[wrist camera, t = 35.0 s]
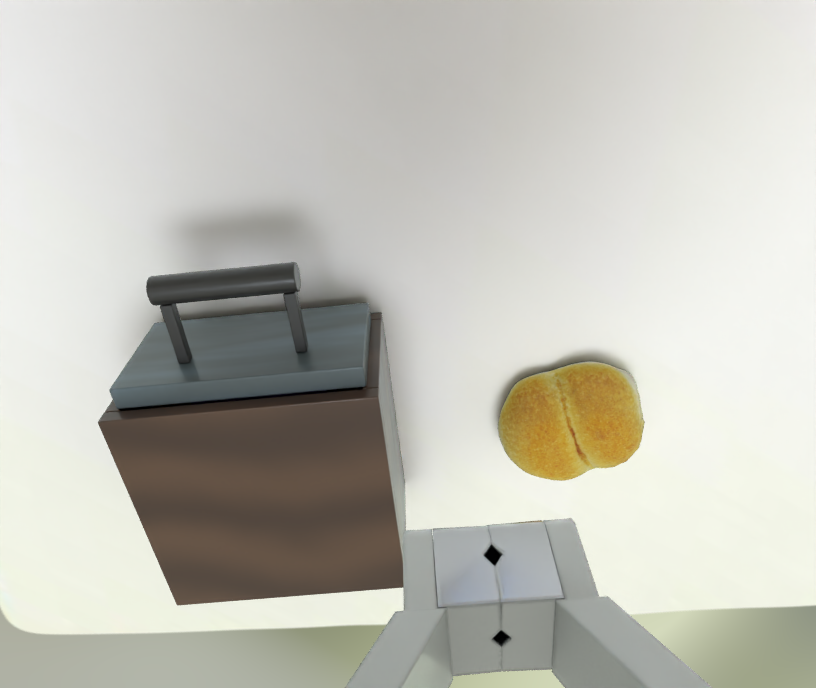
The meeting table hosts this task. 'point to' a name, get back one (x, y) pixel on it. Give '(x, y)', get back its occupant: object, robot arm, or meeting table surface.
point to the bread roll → (572, 420)
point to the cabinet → (270, 490)
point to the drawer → (243, 343)
